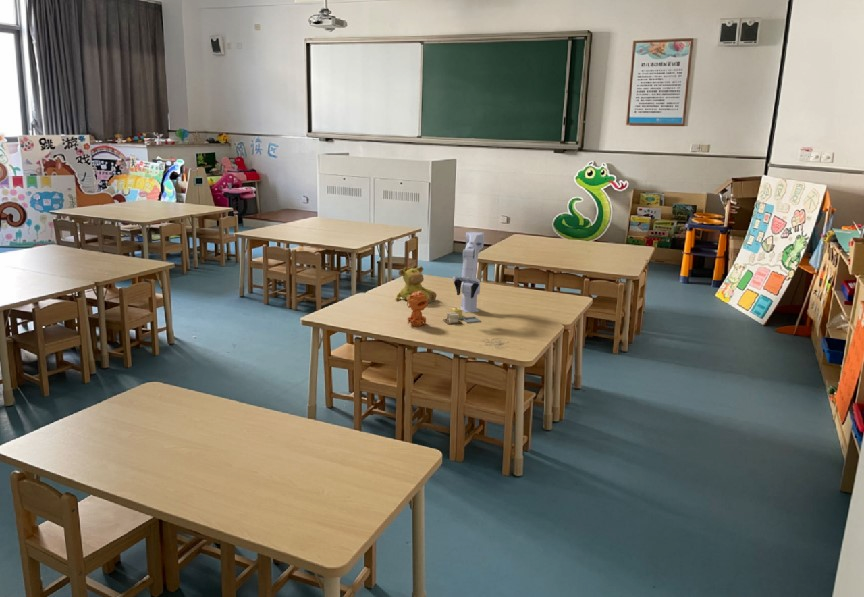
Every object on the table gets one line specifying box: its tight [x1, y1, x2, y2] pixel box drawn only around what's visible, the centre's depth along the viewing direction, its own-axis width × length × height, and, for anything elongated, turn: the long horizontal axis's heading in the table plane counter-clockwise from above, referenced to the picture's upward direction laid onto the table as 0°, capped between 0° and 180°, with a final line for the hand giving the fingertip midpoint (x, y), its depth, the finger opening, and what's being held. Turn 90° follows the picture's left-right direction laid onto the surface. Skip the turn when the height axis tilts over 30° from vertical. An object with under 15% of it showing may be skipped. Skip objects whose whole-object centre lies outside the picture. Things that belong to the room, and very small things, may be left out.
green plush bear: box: [395, 265, 437, 304], centre depth 383 cm, size 20×24×19 cm
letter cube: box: [450, 307, 463, 318], centre depth 352 cm, size 4×4×5 cm
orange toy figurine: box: [406, 290, 430, 327], centre depth 337 cm, size 11×11×18 cm
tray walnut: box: [442, 318, 463, 326], centre depth 344 cm, size 8×8×1 cm
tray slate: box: [461, 316, 482, 324], centre depth 348 cm, size 8×8×1 cm
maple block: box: [446, 311, 459, 323], centre depth 344 cm, size 4×4×4 cm
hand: (465, 296), depth 340 cm, fingers open, 7 cm apart
